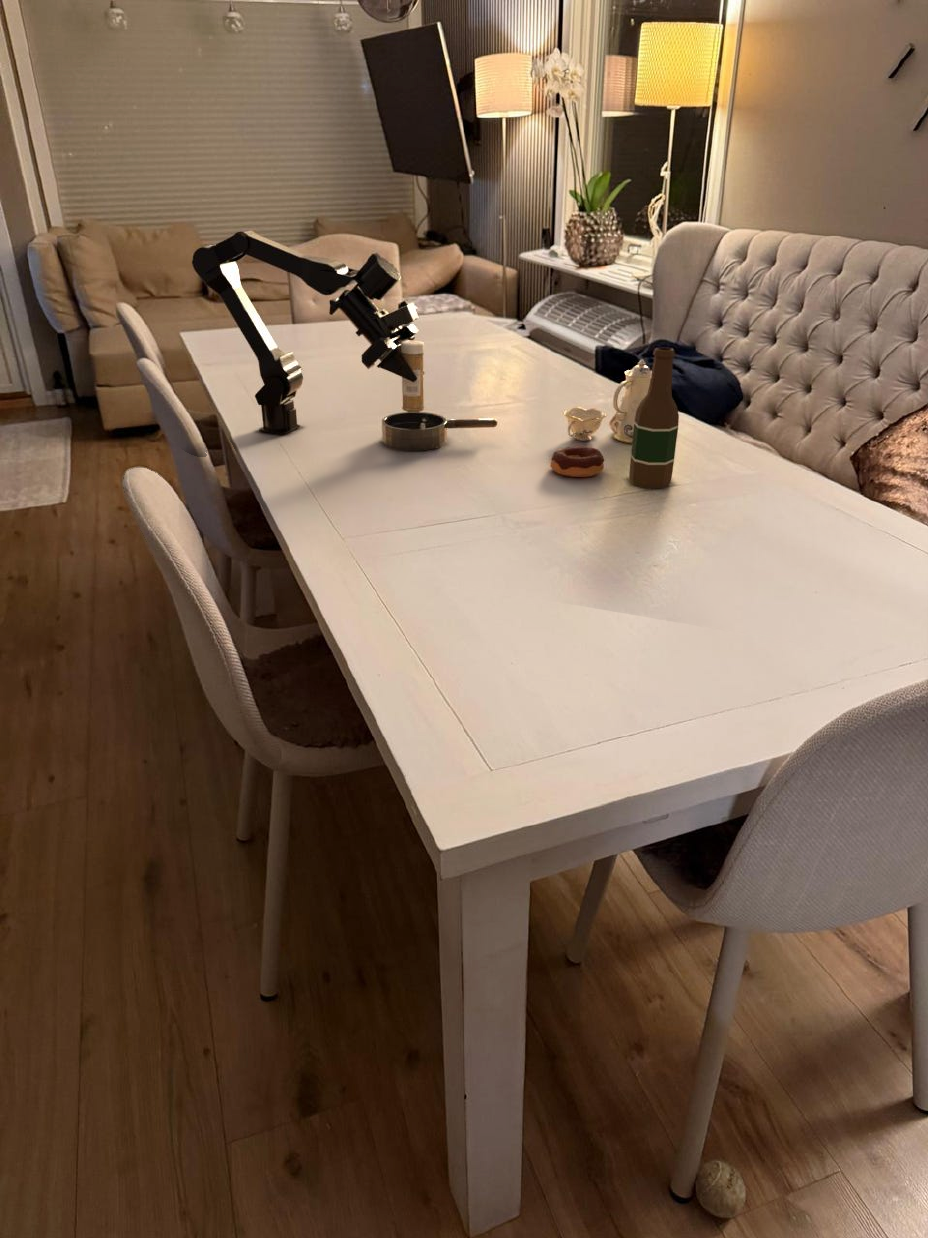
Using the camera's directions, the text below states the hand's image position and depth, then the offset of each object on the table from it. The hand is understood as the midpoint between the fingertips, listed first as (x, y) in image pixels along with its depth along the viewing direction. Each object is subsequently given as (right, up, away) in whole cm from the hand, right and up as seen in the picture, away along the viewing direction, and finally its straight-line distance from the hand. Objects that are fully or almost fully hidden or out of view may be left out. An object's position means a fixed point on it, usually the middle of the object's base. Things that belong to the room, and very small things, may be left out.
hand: (419, 377), depth 179 cm
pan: (-1, -11, +7) cm, 13 cm away
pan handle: (+10, -9, +7) cm, 15 cm away
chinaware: (+43, -9, +12) cm, 46 cm away
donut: (+30, -20, -9) cm, 37 cm away
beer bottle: (+43, -23, -14) cm, 51 cm away
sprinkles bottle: (-1, -6, +4) cm, 7 cm away
